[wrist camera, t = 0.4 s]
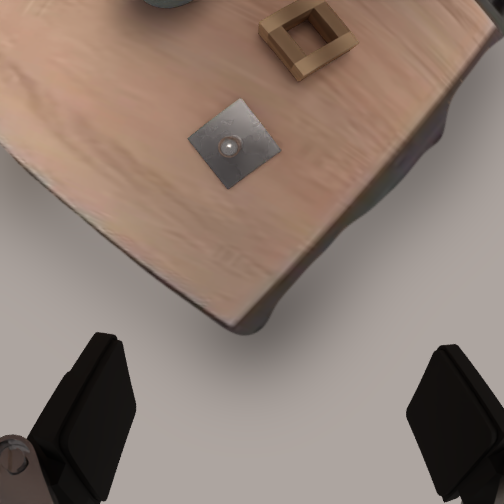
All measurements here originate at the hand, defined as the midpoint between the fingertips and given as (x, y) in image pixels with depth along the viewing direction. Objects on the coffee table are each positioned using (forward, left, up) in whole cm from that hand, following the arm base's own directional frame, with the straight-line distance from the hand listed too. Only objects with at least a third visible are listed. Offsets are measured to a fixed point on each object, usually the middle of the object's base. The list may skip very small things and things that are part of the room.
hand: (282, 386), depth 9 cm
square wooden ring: (-14, -11, -28) cm, 33 cm away
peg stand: (-1, -6, -28) cm, 29 cm away
